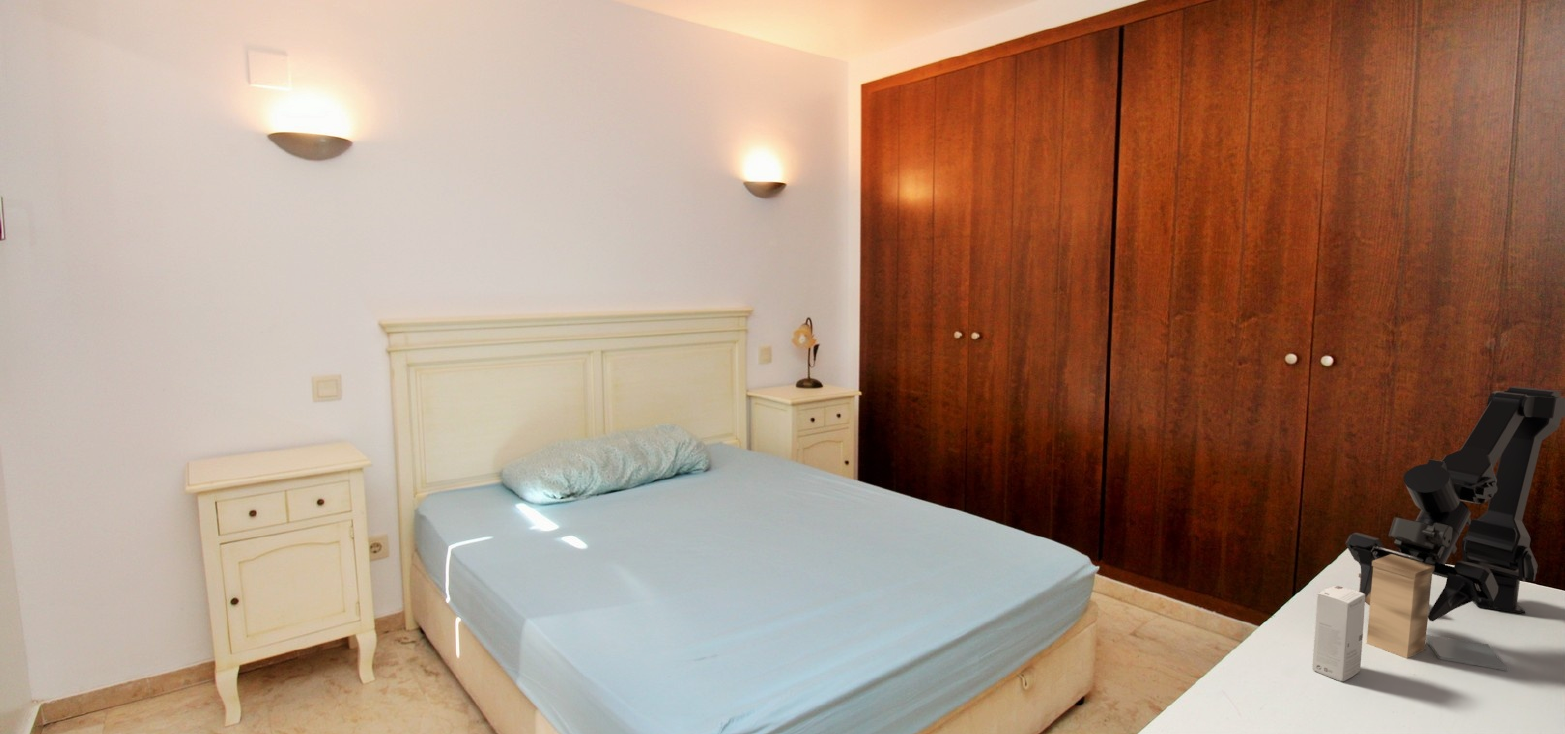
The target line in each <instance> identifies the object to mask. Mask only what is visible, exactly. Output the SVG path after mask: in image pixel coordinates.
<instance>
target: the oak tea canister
mask: <svg viewBox="0 0 1565 734" xmlns="http://www.w3.org/2000/svg"><path fill="white" fill-rule="evenodd" d="M1372 566H1373V575H1372V587H1371V598H1370V605H1369V611H1368V620H1367V621H1368V623H1367V632H1366V633H1367V634H1366V644H1367V645H1370V646H1373V647H1374V648H1378V649H1381V650H1383V651H1387V652H1389V653H1391V654H1395V655H1397V656H1400V657H1402V658H1405V659H1409V658H1410V657H1413V656H1415V655H1417V654H1419V653H1421V652H1423V651H1425V650H1426V643H1427V641H1426V634H1427V629H1428V620H1429V618H1428V616H1429V612H1430V611H1429V609H1430V601H1431V600H1430V599H1431V589H1432V580H1433V574H1432V572H1433V571H1434V567H1435V566H1432V565H1429V564H1425V563H1422V562H1418V561H1414V560H1411V559H1407V558H1404V557H1400V556H1396V555H1393V554H1390V555H1387V556H1384V557H1382V558H1379V559H1376V560H1373V561H1372Z"/></svg>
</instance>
